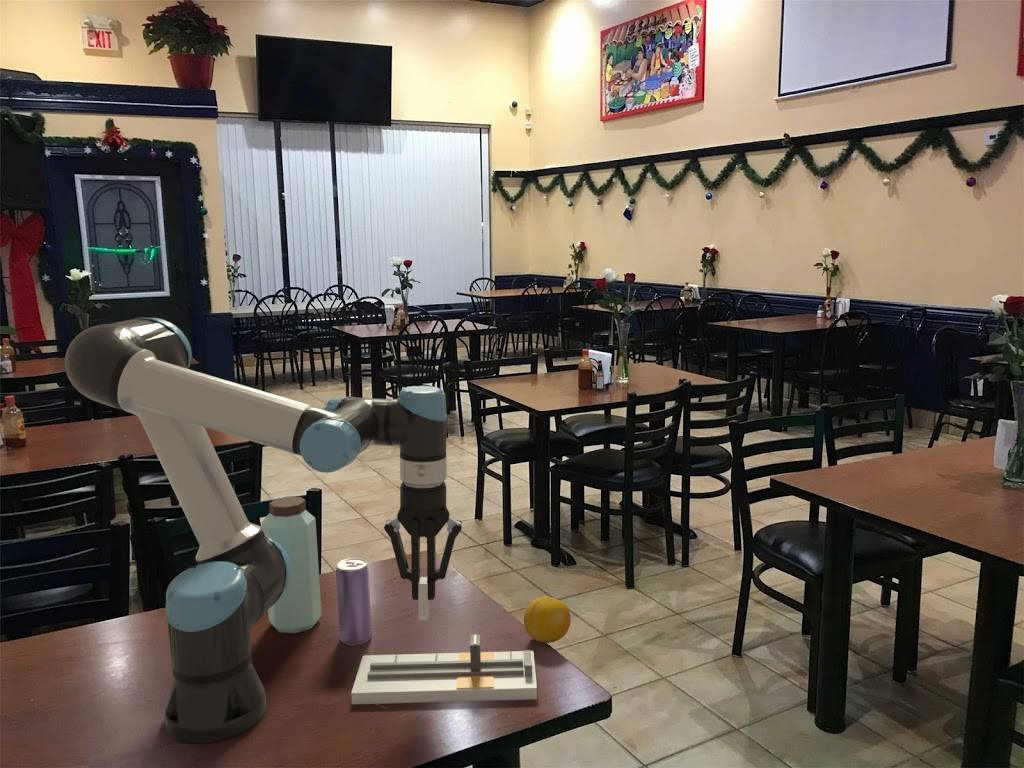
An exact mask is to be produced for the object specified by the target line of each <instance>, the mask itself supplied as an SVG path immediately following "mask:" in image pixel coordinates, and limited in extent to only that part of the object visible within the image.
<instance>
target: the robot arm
mask: <svg viewBox="0 0 1024 768" xmlns="http://www.w3.org/2000/svg"><path fill="white" fill-rule="evenodd" d="M192 359H193V358H192V347H191V344H190V342H189V340H188V338H187V336H186V335H185V334H184V332H183V331H182V330H181V329H180V328H179V327H177V325H175V324H173V323H172V322H170V321H167V320H165V319H162V318H158V317H135V318H133V319H132V318H131V319H127V320H122V321H118V322H117V321H116V322H112V323H111V322H110V323H105V324H103V323H102V324H97V325H95V326H90V327H88V328H87V329H84V330H83V331H81V332H79V334H77V335H76V336H75V338H73V339H72V341H71V342H70V344H69V346H68V347H67V350H66V353H65V358H64V367H65V372H66V373H65V374H66V375H67V378H68V380H69V382H70V383H71V384H72V386H73V387H74V388H75V389H76V390H77V391H78V392H79V393H80V394H81V395H83V396H84V397H86V398H88V399H89V400H92V401H94V402H97V403H100V404H103V405H105V406H107V407H112V408H115V409H119V410H122V411H124V412H126V413H130V414H132V415H135V416H137V417H138V419H139V421H140V423H141V425H142V427H143V430H144V431H145V433H146V435H147V438H148V440H149V441H150V443H151V446H152V448H153V450H154V452H155V454H156V456H157V458H158V460H159V462H160V464H161V467H162V469H163V471H164V473H165V475H166V477H167V479H168V481H169V484H170V486H171V488H172V490H173V492H174V494H175V496H176V498H177V500H178V502H179V505H180V507H181V508H182V511H183V512H184V515H185V518H186V519H187V521H188V523H189V525H190V527H191V530H192V532H193V534H194V536H195V538H196V540H197V543H198V544H199V548H198V550H197V553H196V555H195V560H196V562H197V564H196V567H190V568H188V569H186V570H183V571H182V572H181V573H179V574H178V575H176V576H175V577H174V578H173V579H172V581H171V582H170V583H169V584H168V587H167V589H166V592H165V607H164V608H165V613H164V614H165V617H166V621H167V623H166V624H167V630H168V640H169V648H170V658H171V668H172V681H171V685H170V689H169V692H168V696H167V700H166V704H165V708H164V725H165V731H166V733H167V734H168V736H170V737H171V738H173V740H174V739H175V740H177V741H179V742H183V743H188V744H205V743H207V744H208V743H214V742H218V741H222V740H226V739H230V738H232V737H233V738H234V737H235V736H237V735H240V734H241V733H244V732H246V731H247V730H249V729H250V728H252V727H254V726H255V725H256V724H257V723H258V722H259V721H260V720H261V719H262V718H263V717H264V715H265V713H266V710H267V696H266V690H265V688H264V686H263V683H262V681H261V679H260V677H259V675H258V673H257V670H256V668H255V666H254V664H253V662H252V649H251V637H250V631H251V628H253V626H254V625H255V624H256V623H257V622H258V621H259V620H260V619H261V618H262V617H263V615H265V613H266V612H268V609H269V608H270V607H271V606H272V605H274V604H275V603H276V602H277V601H278V600H279V598H280V597H281V595H282V594H283V592H284V590H285V589H286V587H287V585H288V583H289V579H290V574H291V566H290V561H289V558H288V555H287V553H286V551H285V550H284V548H283V547H282V546H281V545H280V544H279V543H278V542H276V541H272V540H271V538H268V537H266V536H265V534H264V532H263V530H262V525H261V526H260V525H258V524H255V523H252V522H250V521H249V520H248V518H247V516H246V514H245V512H244V511H245V510H244V509H243V507H242V505H241V503H240V500H239V499H238V496H237V494H236V492H235V490H234V488H233V485H232V483H231V482H230V479H229V477H228V475H227V473H226V471H225V469H224V466H223V464H222V462H221V459H220V458H219V456H218V454H217V452H216V450H215V447H214V445H213V443H212V441H211V438H210V437H209V434H208V433H207V430H206V429H210V430H213V431H216V432H220V433H223V434H226V435H230V436H234V437H237V438H240V439H243V440H246V441H251V442H253V443H256V444H260V445H264V446H267V447H270V448H273V449H277V450H280V451H284V452H287V453H291V454H293V455H297V456H299V457H300V456H301V458H302V459H303V461H304V462H305V463H306V464H307V465H308V466H309V467H310V468H311V469H312V470H314V471H317V472H319V473H325V474H326V473H334V472H337V471H340V470H341V469H343V468H345V467H346V466H348V465H350V464H352V463H353V462H354V461H355V459H357V457H358V456H359V455H360V454H361V453H363V452H364V451H365V450H366V449H367V448H369V447H370V446H374V445H375V446H399V479H400V481H401V483H400V485H399V488H400V489H399V495H400V496H399V510H398V511H397V515H396V516H395V517H393V518H392V519H390V518H389V519H387V520H386V521H385V524H384V527H383V530H384V531H385V532H386V534H387V535H388V537H389V538H390V541H391V545H392V549H393V552H394V556H395V561H396V564H397V567H398V568H397V569H398V572H399V576H400V578H401V579H402V580H408V581H410V583H411V598H412V600H414V601H418V602H417V603H418V621H428V620H429V619H428V618H429V616H430V615H429V614H430V601H434V600H435V598H436V582H437V581H438V580H445V578H446V575H447V572H448V568H449V564H450V560H451V558H452V557H451V556H452V553H453V548H454V545H455V540H456V538H457V537H458V535H459V534H460V533H461V531H462V528H463V527H462V526H463V522H462V520H460V519H457V520H456V519H455V518H453V517H452V516H450V511H449V509H448V507H447V483H446V482H445V480H446V479H447V466H448V465H447V464H448V463H447V462H448V461H447V458H448V457H447V456H448V455H447V433H448V432H447V429H448V428H447V427H448V426H447V423H448V414H447V402H446V401H447V400H446V393H445V391H443V390H442V389H441V388H440V387H436V386H430V385H419V386H418V385H412V386H406V387H403V388H401V389H400V391H399V396H398V397H397V398H392V399H390V398H389V399H388V398H369V397H355V396H352V395H351V396H349V395H348V396H346V397H345V396H344V397H343V396H341V397H332V398H330V399H329V400H328V401H327V403H326V406H324V408H321V407H316V406H313V405H310V404H308V403H303V402H300V401H298V400H295V399H290V398H287V397H285V396H280V395H277V394H273V393H270V392H267V391H263V390H261V389H257V388H254V387H250V386H247V385H243V384H240V383H237V382H233V381H230V380H226V379H222V378H221V377H216V376H212V375H209V374H207V373H204V372H199V371H195V370H193V369H189V368H190V367H191V360H192ZM400 524H401V525H400ZM445 525H447V527H446V531H447V532H448V533H447V538H446V542H445V546H444V550H443V553H442V558H441V561H440V565H439V568H438V569H436V567H437V566H436V564H437V563H436V558H437V557H436V554H437V553H436V545H437V544H436V542H437V541H436V538H437V535H438V534H439V533H440V532H441V530H442V529H443V528H444V526H445ZM401 526H402V527H403V529H404V530H405V531H406V532H407V533H408V534H409V536H410V546H411V548H410V549H411V553H410V554H411V555H410V556H411V557H410V560H411V561H410V565H411V569H410V567H409V563H408V558H407V555H406V551H405V548H404V543H403V540H402V537H401V532H400V529H401ZM421 538H425V539H426V574H427V575H426V576H421Z"/></svg>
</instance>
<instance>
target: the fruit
mask: <svg viewBox="0 0 1024 768" xmlns="http://www.w3.org/2000/svg"><path fill="white" fill-rule="evenodd" d="M571 620H572V619H571V613H570V609H569V607H568V606H567V604H565V602H563V601H561V600H560V599H558V598H555V597H552V596H546V595H545V596H544V595H543V596H540V597H537V598H535V599H533V600H532V601H531V602H530V603H529V604H528V606H527V607H526V608H525V611H524V614H523V625H524V628H525V630H526V631H525V632H526V633H527V634H528V635H529V636H530V637H531V638H532V639H533V640H535V641H537V642H539V643H546V644H548V643H555V642H557V641H559V640H561V639H562V638H564V636H565V635H566V634H567V632H568V631H569V629H570V626H571Z"/></svg>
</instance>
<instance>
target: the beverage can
mask: <svg viewBox="0 0 1024 768" xmlns="http://www.w3.org/2000/svg"><path fill="white" fill-rule="evenodd" d="M369 569H370V568H369V566H368V561H367V560H365V559H363V558H360V557H358V558H357V557H352V558H351V557H350V558H346V559H343V560H340V561H339V562H337V564H336V569H335V575H336V576H335V578H336V595H337V598H336V599H337V614H338V628H339V629H338V632H339V639H340V641H341V642H342V643H343V644H344V645H346V646H352V647H353V646H361V645H364V644H366V643H367V642H368V641H370V639H371V638H372V636H373V633H372V632H373V630H372V629H373V628H372V609H371V608H372V607H371V589H370V587H371V586H370V570H369Z"/></svg>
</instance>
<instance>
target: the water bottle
mask: <svg viewBox="0 0 1024 768" xmlns="http://www.w3.org/2000/svg"><path fill="white" fill-rule="evenodd" d="M268 506H269V509H268V511H269V513H268V514H267V515H266V516H265V518H264V519H263V521H261V528H262V530H263V532H264V534H265V536H266V537H268V538H271V540H272V541H276V542H278V543H279V544H280V545H281V546H282V547H283V548H284V550H285V551H286V553H287V555H288V558H289V561H290V566H291V574H290V579H289V583H288V585H287V587H286V589H285V590H284V592H283V594H282V595H281V597H280V598H279V600H278V601H277V602H276V603H275V604H274V605H272V606H271V607H270V608H269V609H268V610H267V613H268V621H269V623H270V624H271V625H272V626H273V628H275V629H276V630H277V632H278V633H285V634H297V633H301V632H304V631H307V630H311V629H312V628H314V626H315V625H316V623H317V622H318V621H319V619H320V618H321V616H322V603H321V587H320V574H319V573H320V572H319V571H320V569H319V555H318V553H319V552H318V551H319V550H318V541H317V540H318V537H317V522H316V517H315V516H314V515H312V514H311V513H310V512H309V511H307V509H306V499H304V498H303V497H301V496H284V497H279V498H274V499H273V500H272V501H270V502H269V505H268Z"/></svg>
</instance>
